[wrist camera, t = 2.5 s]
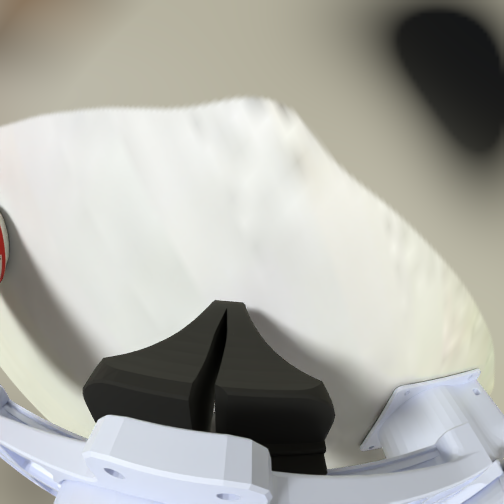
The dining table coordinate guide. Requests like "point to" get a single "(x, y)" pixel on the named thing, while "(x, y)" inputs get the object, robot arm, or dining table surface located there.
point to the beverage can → (3, 247)
